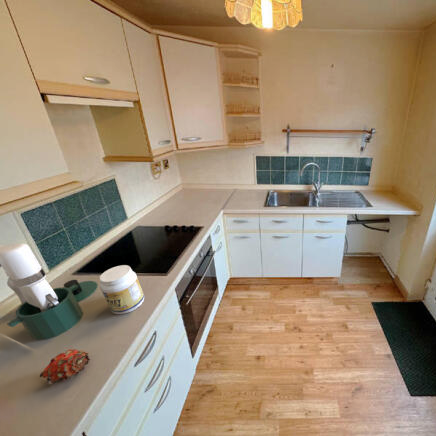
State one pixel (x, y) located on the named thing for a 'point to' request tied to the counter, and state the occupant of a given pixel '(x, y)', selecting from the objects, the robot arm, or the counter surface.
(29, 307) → the pot
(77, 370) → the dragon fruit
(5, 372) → the counter surface
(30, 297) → the robot arm
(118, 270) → the supplement tub
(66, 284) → the pot lid
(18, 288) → the silver metal bottle
